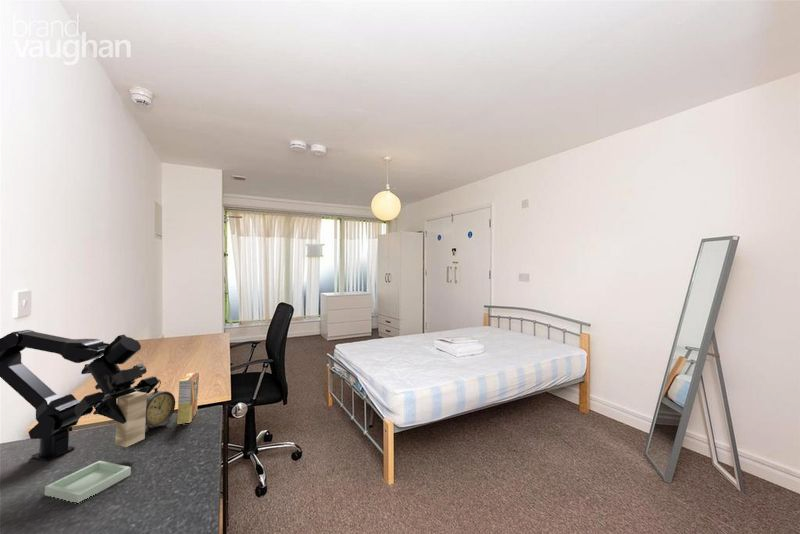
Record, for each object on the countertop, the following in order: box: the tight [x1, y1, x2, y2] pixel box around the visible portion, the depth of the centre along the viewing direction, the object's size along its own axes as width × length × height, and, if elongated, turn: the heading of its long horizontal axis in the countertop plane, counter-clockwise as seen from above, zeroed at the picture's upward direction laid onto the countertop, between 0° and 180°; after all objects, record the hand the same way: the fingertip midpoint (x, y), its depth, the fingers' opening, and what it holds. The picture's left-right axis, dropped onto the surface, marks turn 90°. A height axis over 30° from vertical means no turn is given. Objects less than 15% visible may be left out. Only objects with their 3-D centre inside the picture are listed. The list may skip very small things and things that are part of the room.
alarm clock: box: [145, 378, 176, 433], centre depth 108 cm, size 11×5×16 cm, turn 168°
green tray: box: [44, 460, 132, 504], centre depth 78 cm, size 11×11×2 cm
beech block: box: [114, 391, 148, 448], centre depth 90 cm, size 4×5×13 cm
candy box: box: [176, 372, 200, 425], centre depth 115 cm, size 9×4×15 cm, turn 19°
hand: (135, 418), depth 90 cm, fingers closed on beech block, 5 cm apart
